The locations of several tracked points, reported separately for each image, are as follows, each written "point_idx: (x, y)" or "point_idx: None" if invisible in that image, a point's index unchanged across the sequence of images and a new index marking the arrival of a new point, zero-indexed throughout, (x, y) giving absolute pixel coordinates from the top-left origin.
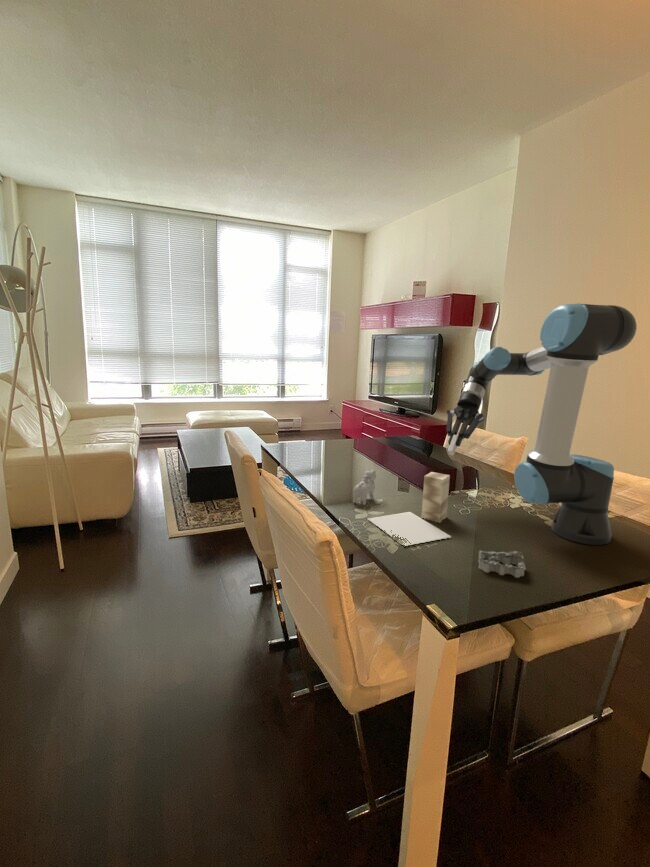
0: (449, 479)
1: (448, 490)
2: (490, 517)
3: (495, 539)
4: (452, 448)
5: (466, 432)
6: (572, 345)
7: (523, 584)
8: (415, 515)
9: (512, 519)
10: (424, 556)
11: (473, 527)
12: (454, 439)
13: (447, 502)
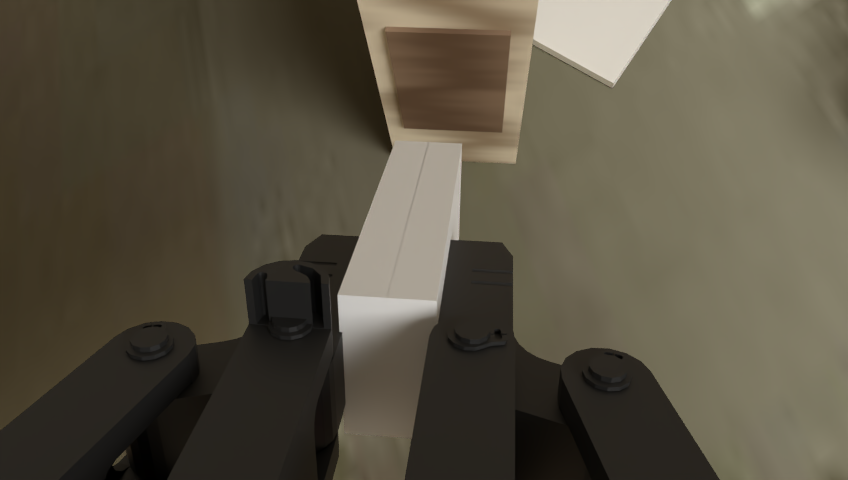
0: (360, 13)
1: (373, 65)
2: (145, 317)
3: (97, 23)
4: (395, 155)
5: (137, 352)
6: None
7: None
8: (558, 47)
9: (12, 366)
10: None
11: (220, 102)
12: (394, 238)
13: (385, 111)
